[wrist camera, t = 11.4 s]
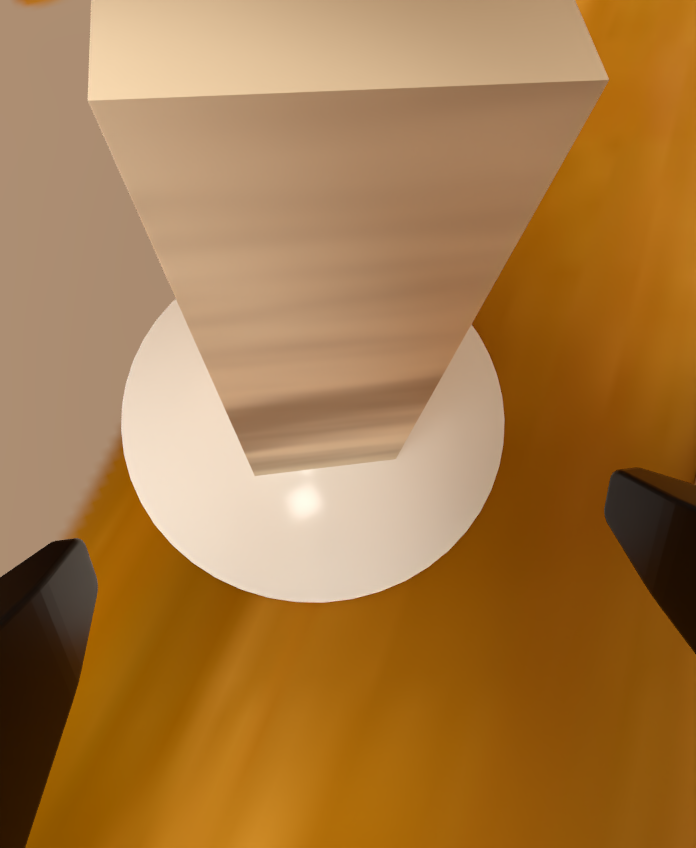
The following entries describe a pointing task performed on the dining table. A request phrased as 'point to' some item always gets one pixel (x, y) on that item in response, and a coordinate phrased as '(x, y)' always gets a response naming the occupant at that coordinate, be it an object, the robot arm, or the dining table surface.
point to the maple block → (336, 190)
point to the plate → (305, 480)
